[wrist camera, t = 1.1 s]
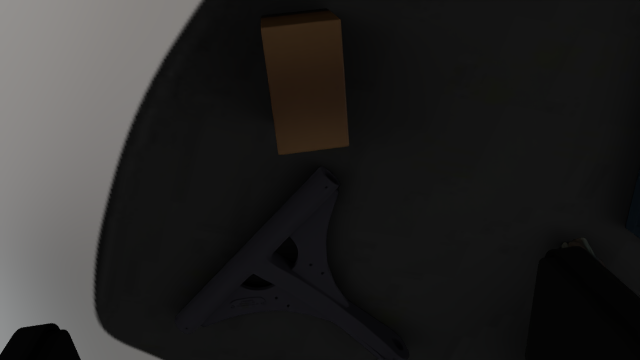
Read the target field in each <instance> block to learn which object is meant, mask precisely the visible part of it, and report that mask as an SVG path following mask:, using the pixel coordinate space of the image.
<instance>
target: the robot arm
mask: <svg viewBox="0 0 640 360" xmlns="http://www.w3.org/2000/svg"><path fill="white" fill-rule="evenodd" d="M525 357H526V360H640V298H639V297H638V296H637V295H636V294H635V293H634V292H633V291H631V290H630V289H629V288H628V287H627V286H626V285H625V284H624V283H622V282H621V281H620V280H619V279H618V278H617V277H616V276H615V275H613V274H612V273H611V272H610V271H609V270H608V269H607V268H606V267H604V266H603V265H602V264H601V263H600V262H599V261H598V260H597V259H595V258H594V257H593V256H592V255H591V254H590V253H589V252H588V251H586V250H585V249H584V248H582V247H580V246H572V247H565V248H559V249H552V250H549V251H548V252H547V253H546V256H545V258H542V259H541V260H540V261H539V264H538V271H537V278H536V285H535V291H534V298H533V305H532V312H531V319H530V325H529V332H528V339H527V346H526V353H525ZM0 360H81V359H80V357H79V355H78V352H77V350H76V348H75V346H74V343H73V341H72V339H71V336H70V334H69V333H68V331H66V330H60V329H59V327H58V326H57V325H56V324H53V323H50V324H43V325H36V326H30V327H23V328H20V329H18V330H17V331H16V332H15V333H14V334H13V336H12V338H11V339H10V340H9V342H8V343H7V345H6V346H5V348H4V350H3V351H2V353H1V354H0Z"/></svg>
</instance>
